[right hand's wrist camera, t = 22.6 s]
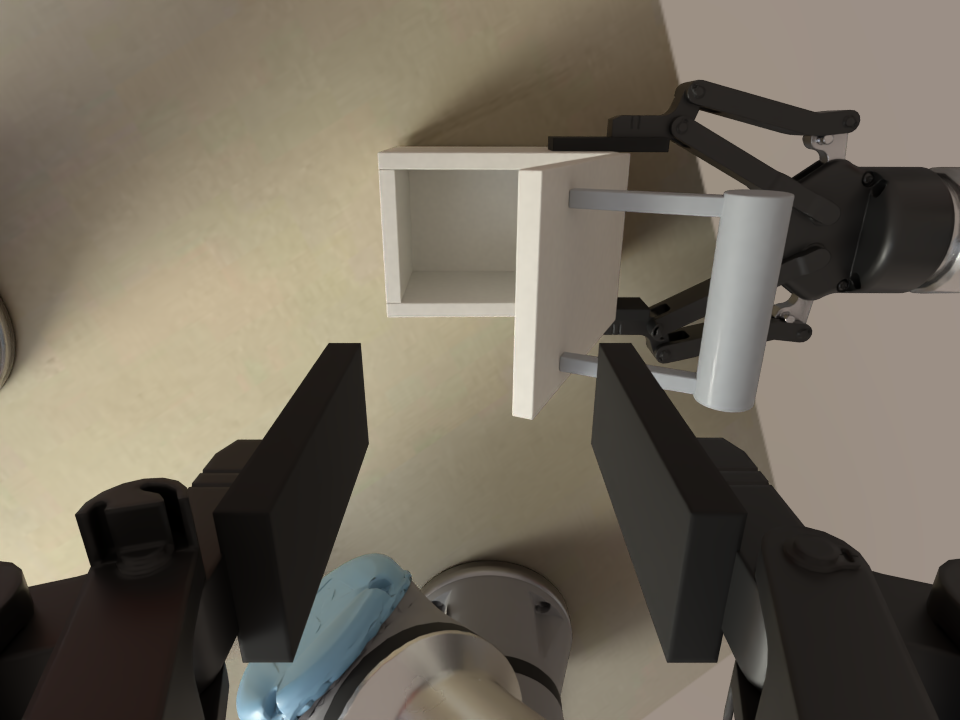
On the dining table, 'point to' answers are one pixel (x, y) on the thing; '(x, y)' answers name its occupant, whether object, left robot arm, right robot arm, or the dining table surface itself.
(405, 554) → the dining table surface
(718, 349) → the lid
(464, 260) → the chest
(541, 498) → the dining table surface
